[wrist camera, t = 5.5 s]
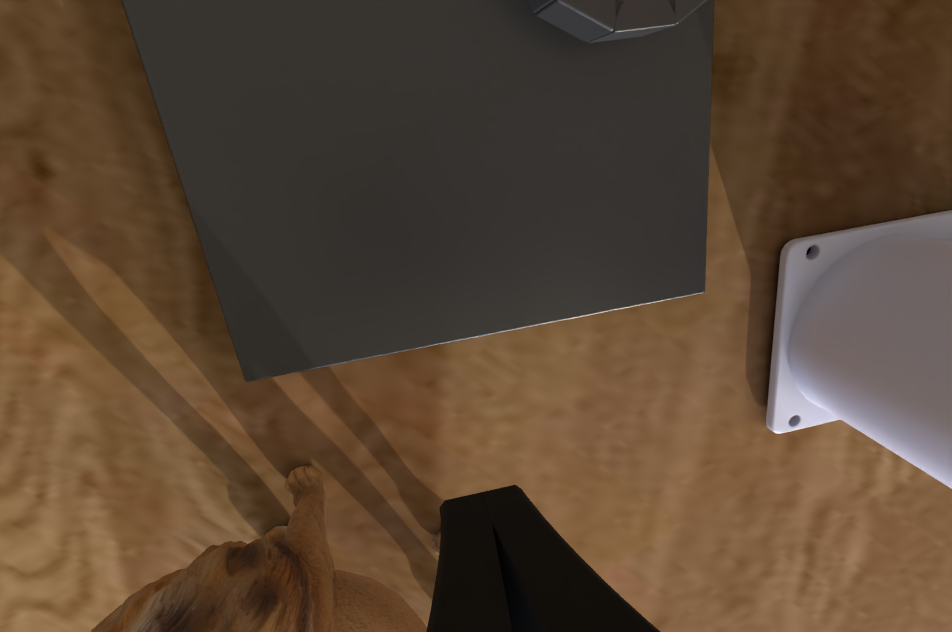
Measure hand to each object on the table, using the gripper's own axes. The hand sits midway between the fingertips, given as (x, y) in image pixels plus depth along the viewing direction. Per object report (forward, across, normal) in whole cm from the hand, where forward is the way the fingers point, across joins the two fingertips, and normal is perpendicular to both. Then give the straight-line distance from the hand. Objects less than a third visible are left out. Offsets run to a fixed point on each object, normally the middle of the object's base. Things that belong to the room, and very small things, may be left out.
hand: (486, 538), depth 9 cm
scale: (+9, -2, -7) cm, 12 cm away
